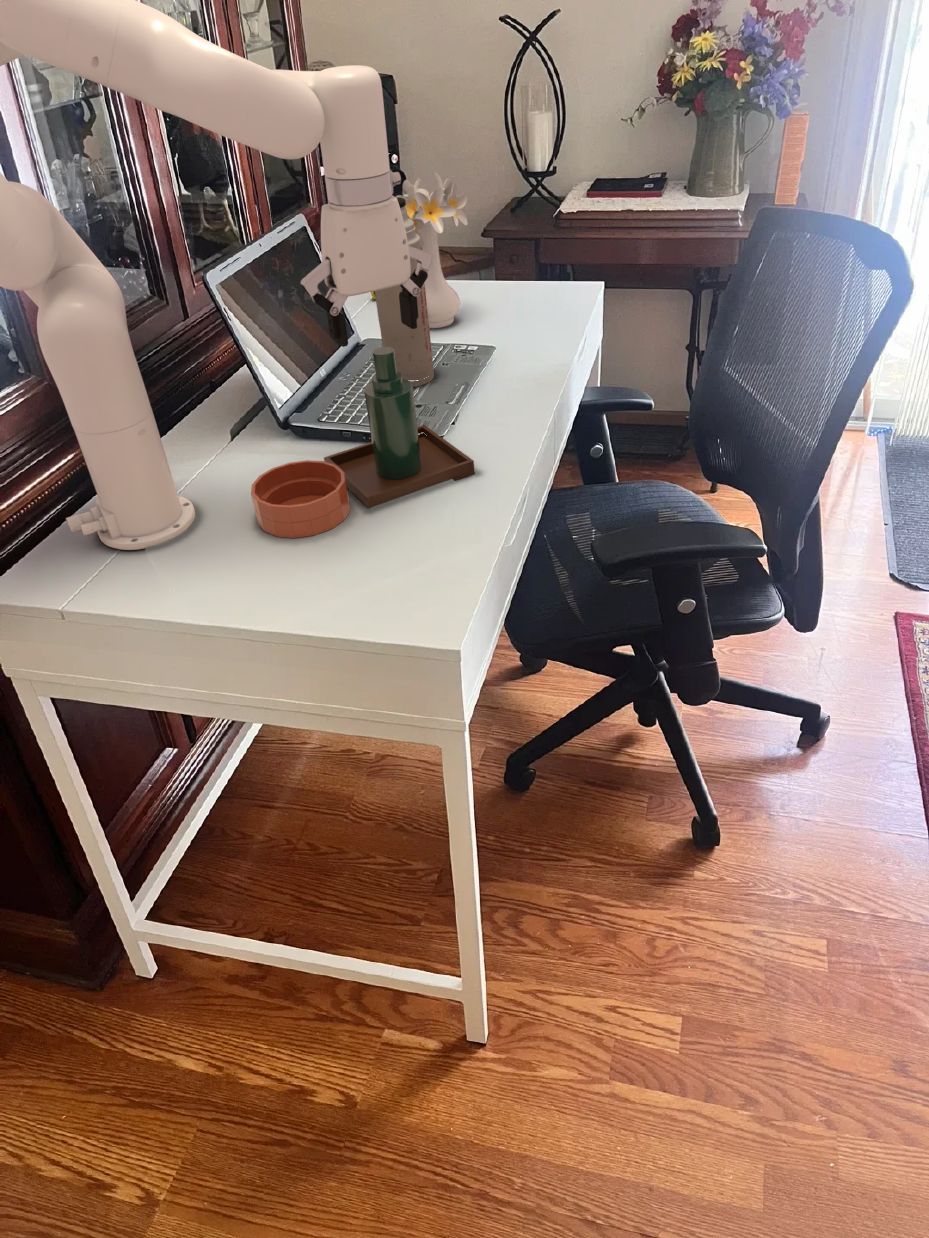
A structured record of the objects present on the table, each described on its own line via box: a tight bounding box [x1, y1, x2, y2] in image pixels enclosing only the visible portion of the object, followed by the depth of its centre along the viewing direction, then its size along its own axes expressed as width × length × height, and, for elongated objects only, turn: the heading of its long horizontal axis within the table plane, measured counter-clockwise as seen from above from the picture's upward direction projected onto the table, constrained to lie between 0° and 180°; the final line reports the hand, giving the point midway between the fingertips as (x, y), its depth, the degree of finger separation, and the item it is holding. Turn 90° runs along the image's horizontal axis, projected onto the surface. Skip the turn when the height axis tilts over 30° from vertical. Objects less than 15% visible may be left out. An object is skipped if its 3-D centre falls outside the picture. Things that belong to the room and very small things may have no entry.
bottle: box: [363, 346, 422, 480], centre depth 125 cm, size 6×6×17 cm
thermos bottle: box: [375, 196, 435, 388], centre depth 148 cm, size 8×8×28 cm
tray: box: [323, 424, 476, 509], centre depth 130 cm, size 16×14×2 cm
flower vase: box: [395, 171, 469, 329], centre depth 168 cm, size 13×18×25 cm
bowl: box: [250, 459, 351, 539], centre depth 122 cm, size 12×12×5 cm
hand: (375, 334), depth 119 cm, fingers open, 9 cm apart
